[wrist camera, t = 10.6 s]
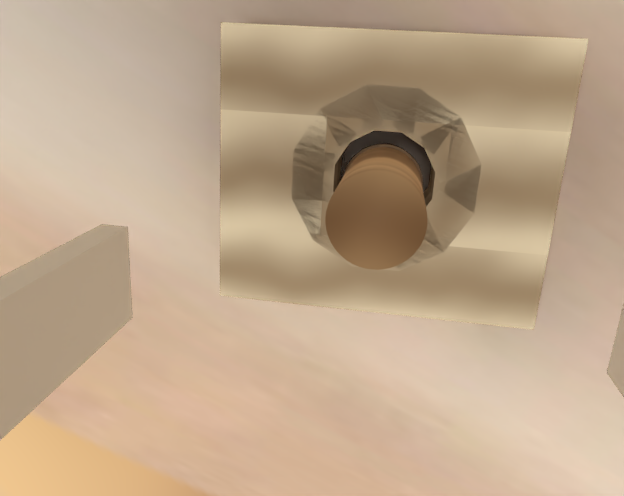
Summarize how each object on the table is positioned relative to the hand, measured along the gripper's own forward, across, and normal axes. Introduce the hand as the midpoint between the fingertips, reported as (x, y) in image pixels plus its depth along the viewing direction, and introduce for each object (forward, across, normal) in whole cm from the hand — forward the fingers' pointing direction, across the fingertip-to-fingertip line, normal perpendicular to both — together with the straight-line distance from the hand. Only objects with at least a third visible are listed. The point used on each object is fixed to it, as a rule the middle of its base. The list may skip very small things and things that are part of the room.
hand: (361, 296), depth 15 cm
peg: (+22, 0, 0) cm, 22 cm away
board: (+22, 0, 0) cm, 22 cm away
